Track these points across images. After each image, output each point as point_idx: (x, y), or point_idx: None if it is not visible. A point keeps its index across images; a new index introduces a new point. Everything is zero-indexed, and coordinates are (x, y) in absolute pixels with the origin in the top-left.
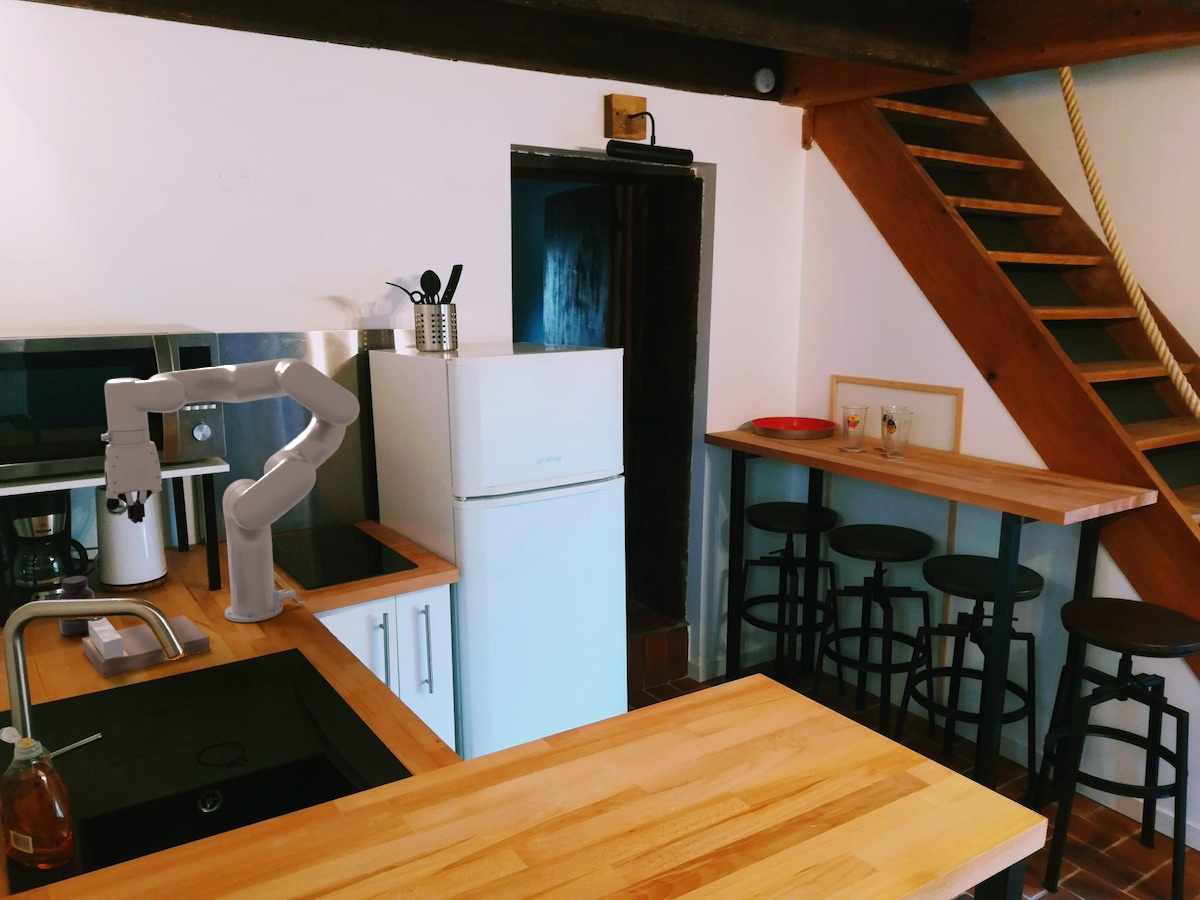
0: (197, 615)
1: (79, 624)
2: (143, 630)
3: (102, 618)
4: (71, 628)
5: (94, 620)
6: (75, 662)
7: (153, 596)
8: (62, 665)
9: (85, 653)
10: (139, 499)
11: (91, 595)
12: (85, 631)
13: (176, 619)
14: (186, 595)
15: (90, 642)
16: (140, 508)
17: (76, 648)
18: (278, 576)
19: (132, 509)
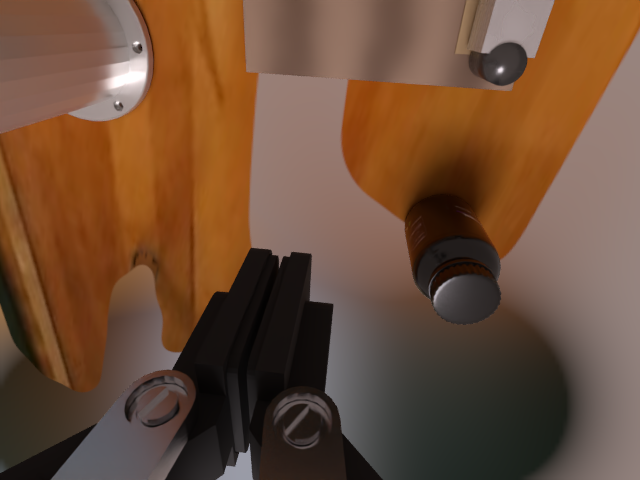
0: (210, 135)
1: (457, 204)
2: (372, 25)
3: (492, 48)
4: (470, 208)
5: (519, 45)
6: (550, 21)
7: None
8: (581, 24)
9: None
10: (184, 439)
11: (429, 245)
12: (441, 196)
13: (272, 49)
14: (203, 267)
15: None
16: (226, 327)
17: (494, 124)
18: (15, 243)
19: (297, 357)
